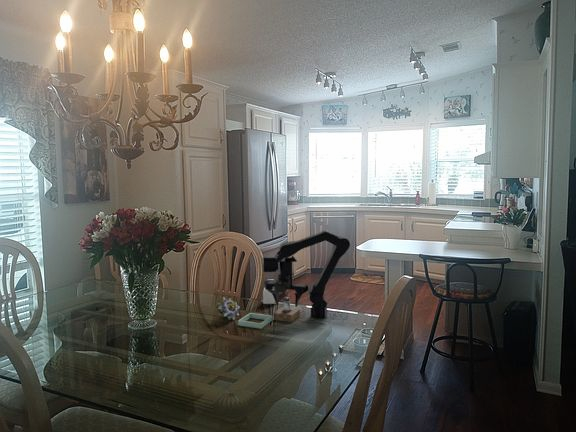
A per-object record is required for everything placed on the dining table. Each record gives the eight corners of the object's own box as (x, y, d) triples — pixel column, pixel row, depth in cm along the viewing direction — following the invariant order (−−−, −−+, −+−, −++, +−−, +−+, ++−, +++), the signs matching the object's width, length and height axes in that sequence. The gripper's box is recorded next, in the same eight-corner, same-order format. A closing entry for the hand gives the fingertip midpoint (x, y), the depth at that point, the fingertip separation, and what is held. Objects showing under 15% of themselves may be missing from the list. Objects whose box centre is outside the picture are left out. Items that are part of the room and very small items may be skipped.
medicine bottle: (277, 305, 219) (277, 281, 218) (263, 305, 219) (262, 282, 218) (278, 301, 226) (277, 278, 225) (264, 301, 226) (263, 278, 225)
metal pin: (291, 316, 199) (290, 297, 198) (288, 318, 197) (288, 299, 196) (285, 316, 201) (284, 296, 200) (282, 318, 198) (282, 298, 197)
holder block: (299, 317, 201) (299, 309, 201) (292, 324, 193) (292, 315, 192) (281, 315, 205) (281, 306, 204) (273, 321, 196) (273, 312, 196)
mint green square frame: (272, 322, 196) (272, 315, 195) (261, 330, 186) (261, 323, 185) (250, 319, 200) (250, 312, 200) (238, 327, 190) (238, 320, 190)
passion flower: (233, 331, 200) (227, 316, 192) (213, 324, 204) (207, 308, 196) (246, 312, 207) (241, 296, 199) (226, 305, 211) (221, 289, 203)
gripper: (259, 274, 193) (259, 308, 195) (298, 277, 185) (299, 313, 187) (270, 268, 203) (270, 301, 205) (308, 271, 196) (308, 306, 197)
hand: (286, 305), depth 198 cm, fingers open, 9 cm apart
